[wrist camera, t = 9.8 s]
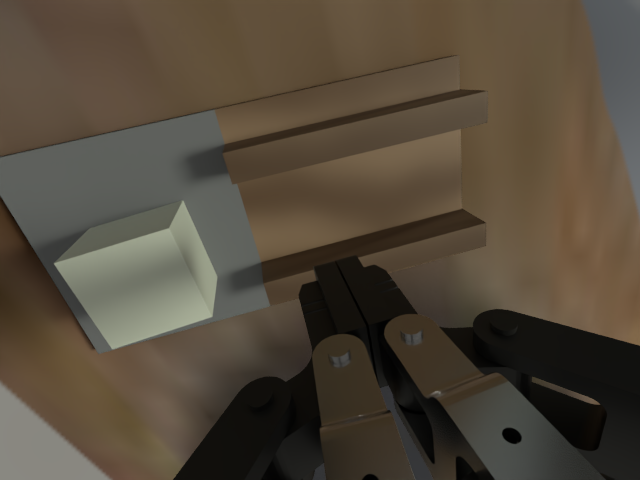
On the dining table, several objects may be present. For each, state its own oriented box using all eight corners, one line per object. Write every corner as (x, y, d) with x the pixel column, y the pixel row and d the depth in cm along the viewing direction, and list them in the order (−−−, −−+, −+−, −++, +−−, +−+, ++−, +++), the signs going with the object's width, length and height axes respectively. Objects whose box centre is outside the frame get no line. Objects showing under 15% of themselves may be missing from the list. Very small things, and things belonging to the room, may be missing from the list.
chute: (215, 108, 18) (210, 114, 15) (453, 55, 19) (488, 51, 17) (273, 299, 23) (277, 329, 21) (458, 248, 25) (485, 270, 22)
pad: (-12, 159, 17) (-21, 162, 17) (215, 108, 18) (214, 109, 18) (101, 347, 22) (98, 353, 22) (273, 299, 23) (274, 305, 23)
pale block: (89, 228, 19) (53, 263, 15) (182, 200, 19) (169, 228, 16) (134, 303, 21) (112, 349, 17) (217, 277, 21) (212, 316, 18)
